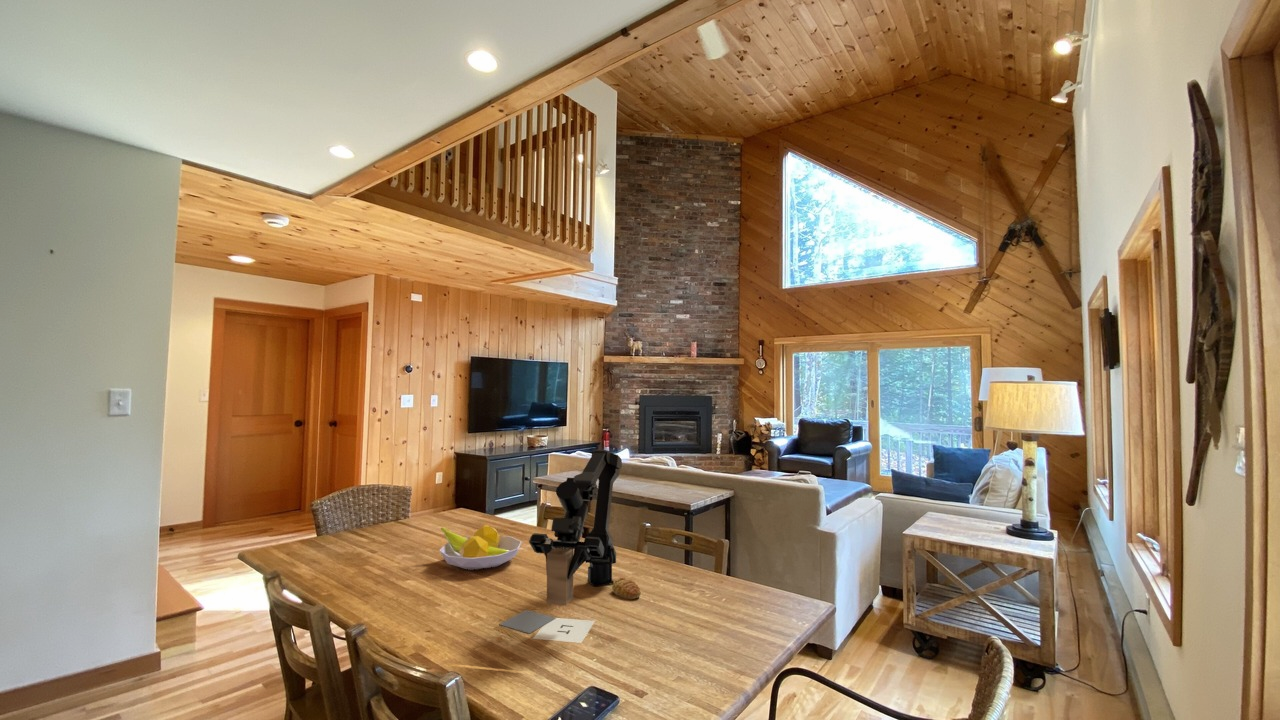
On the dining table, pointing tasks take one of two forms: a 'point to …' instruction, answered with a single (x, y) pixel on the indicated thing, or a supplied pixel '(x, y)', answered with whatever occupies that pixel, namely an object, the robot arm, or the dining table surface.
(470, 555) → the fruit bowl
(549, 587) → the walnut block
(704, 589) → the dining table surface
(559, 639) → the tile
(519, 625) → the slate coaster
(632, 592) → the pastry
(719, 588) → the dining table surface
